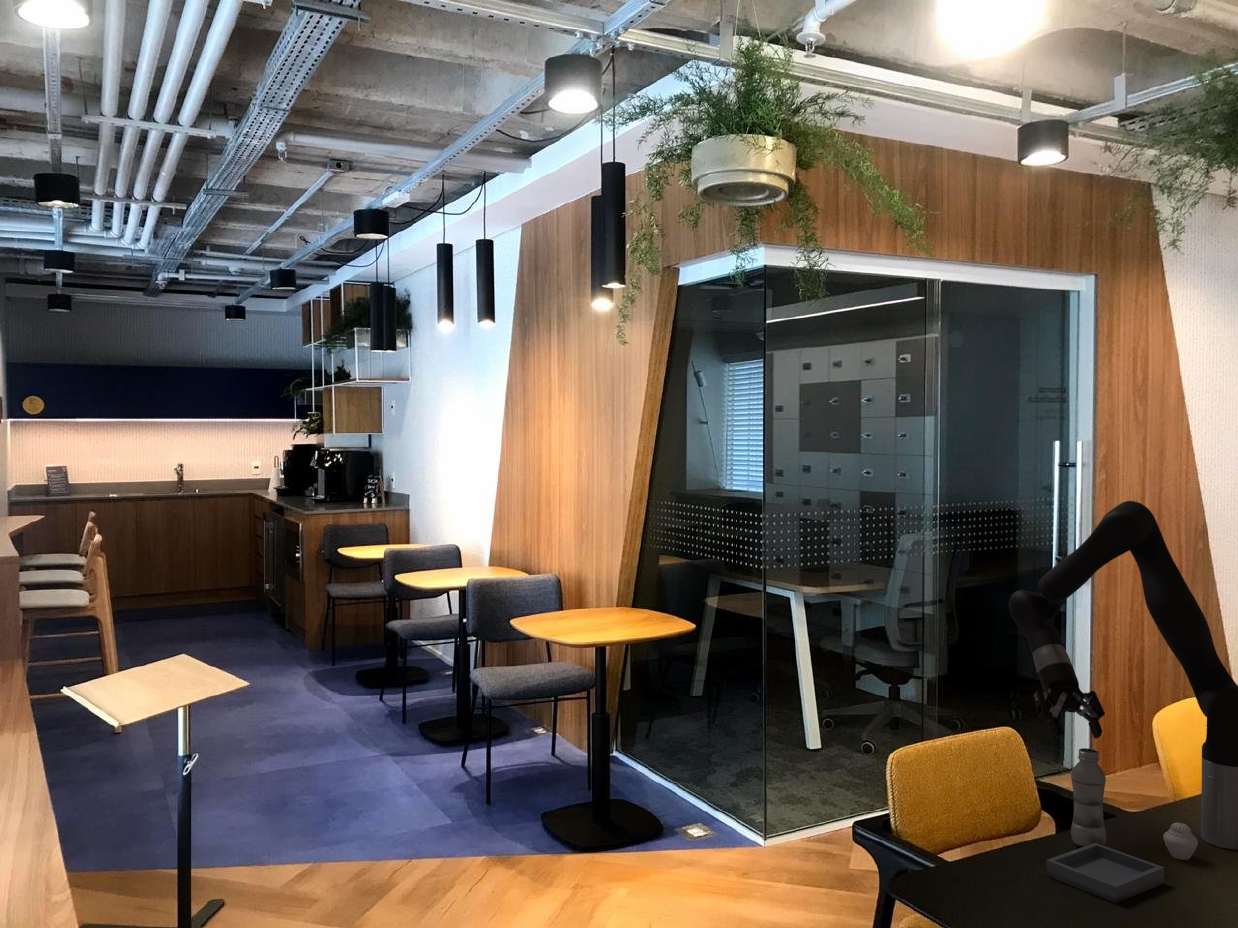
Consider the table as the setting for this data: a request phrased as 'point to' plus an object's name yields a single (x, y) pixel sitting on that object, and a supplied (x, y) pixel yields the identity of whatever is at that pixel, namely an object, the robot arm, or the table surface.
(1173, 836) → the muffin
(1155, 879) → the tray
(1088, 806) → the plastic bottle
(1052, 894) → the table surface
